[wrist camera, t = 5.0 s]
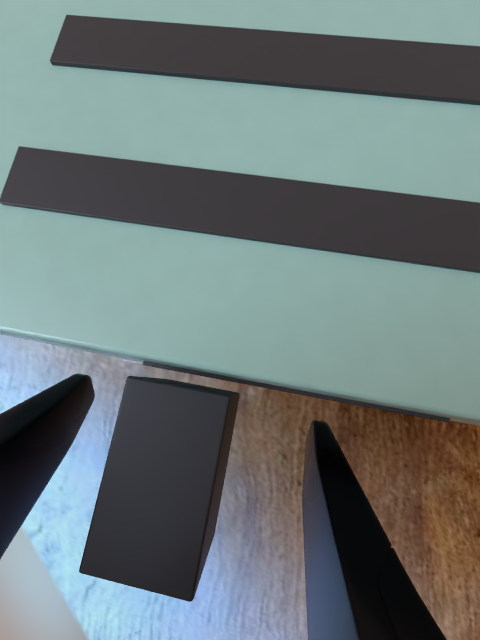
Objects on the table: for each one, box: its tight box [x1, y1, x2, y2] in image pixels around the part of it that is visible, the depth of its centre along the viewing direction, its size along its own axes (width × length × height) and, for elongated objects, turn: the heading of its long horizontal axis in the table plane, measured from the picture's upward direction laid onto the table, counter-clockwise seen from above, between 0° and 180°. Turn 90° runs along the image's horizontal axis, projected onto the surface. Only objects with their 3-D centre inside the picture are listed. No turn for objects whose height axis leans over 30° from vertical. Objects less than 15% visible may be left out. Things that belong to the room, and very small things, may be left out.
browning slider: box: [79, 376, 239, 602], centre depth 8 cm, size 4×2×3 cm, turn 169°
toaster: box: [0, 0, 480, 426], centre depth 12 cm, size 9×16×12 cm, turn 80°
